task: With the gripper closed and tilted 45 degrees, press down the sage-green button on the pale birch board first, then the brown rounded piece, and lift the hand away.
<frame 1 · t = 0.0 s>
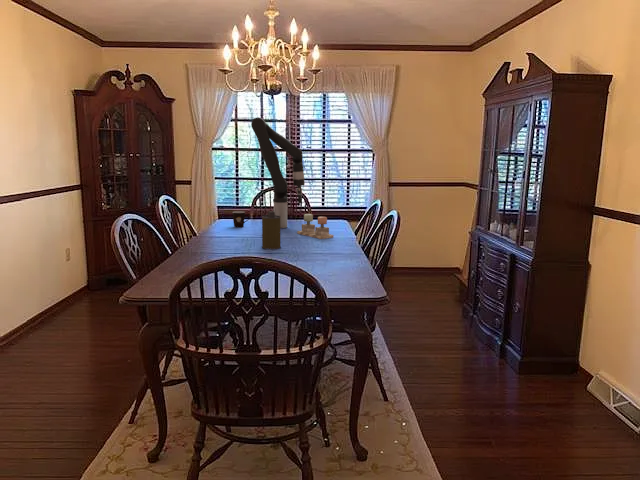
hand: (300, 202, 354), 17 cm above the table, tool pointing down, fingers open, 8 cm apart
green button: (308, 220, 330), point 9 cm above the table, slide at 0.0 cm
button board: (315, 235, 327), on the table
coffee mug: (240, 227, 356), on the table
brown rounded piece: (322, 222, 320), point 9 cm above the table, slide at 0.0 cm
canister: (271, 247, 288), on the table
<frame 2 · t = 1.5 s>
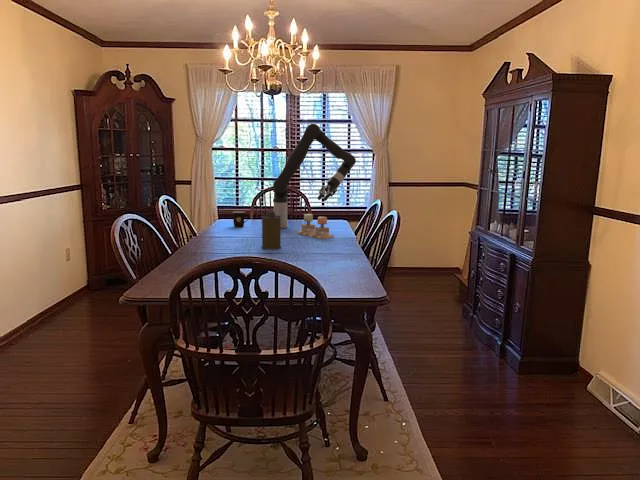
hand: (321, 199, 335), 21 cm above the table, tool tilted 45°, fingers open, 5 cm apart
nothing on the table moved.
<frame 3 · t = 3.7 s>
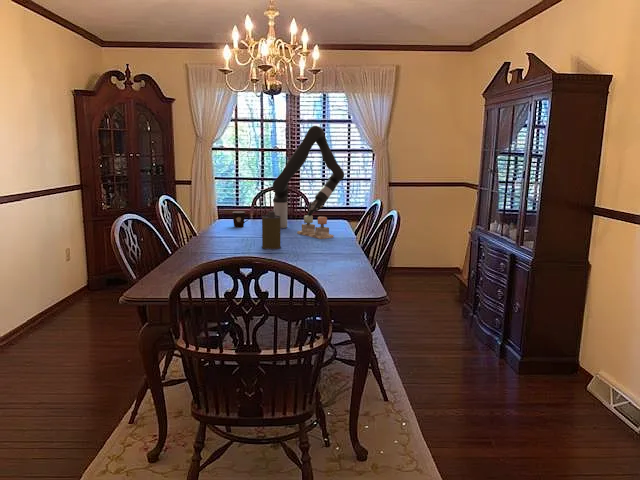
hand: (308, 215, 330), 12 cm above the table, tool tilted 45°, fingers closed
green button: (308, 221, 331), point 8 cm above the table, slide at 0.9 cm, touching gripper
everything else where it was.
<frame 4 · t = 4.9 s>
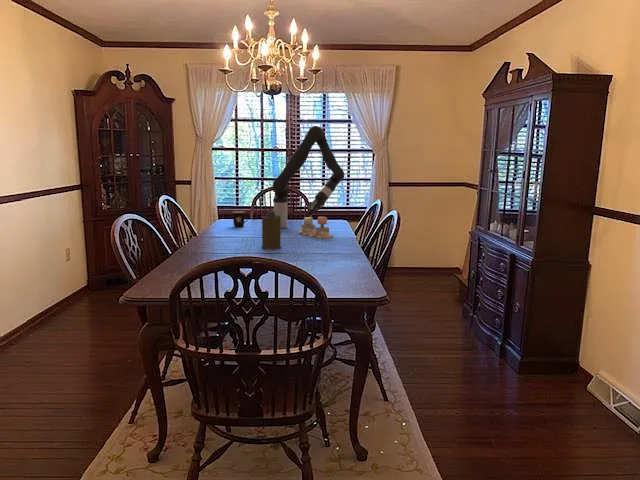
hand: (308, 214, 330), 12 cm above the table, tool tilted 45°, fingers closed
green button: (308, 223, 331), point 7 cm above the table, slide at 2.1 cm
everything else where it was.
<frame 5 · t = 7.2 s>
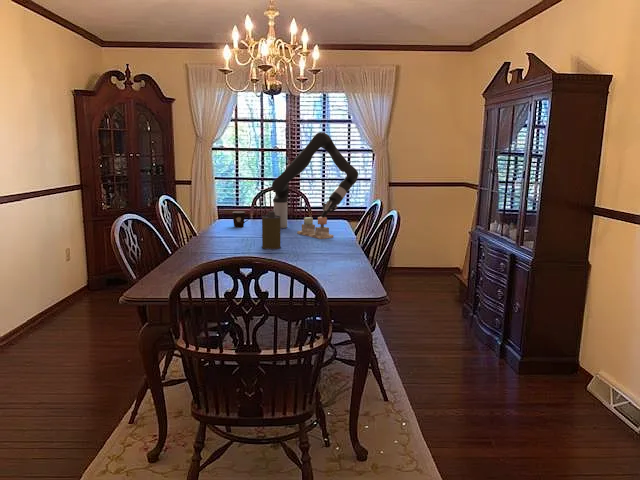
hand: (322, 216, 319), 13 cm above the table, tool tilted 45°, fingers closed
brown rounded piece: (322, 222, 320), point 9 cm above the table, slide at 0.1 cm, touching gripper
everything else where it was.
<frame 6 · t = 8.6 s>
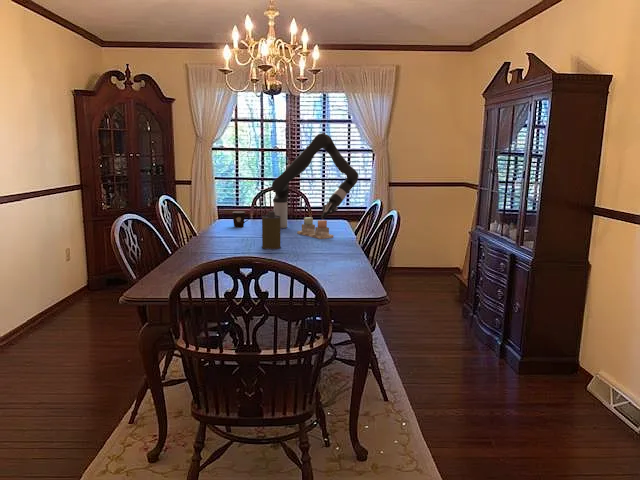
hand: (322, 218, 319), 12 cm above the table, tool tilted 45°, fingers closed
brown rounded piece: (322, 226, 320), point 7 cm above the table, slide at 2.1 cm
everything else where it was.
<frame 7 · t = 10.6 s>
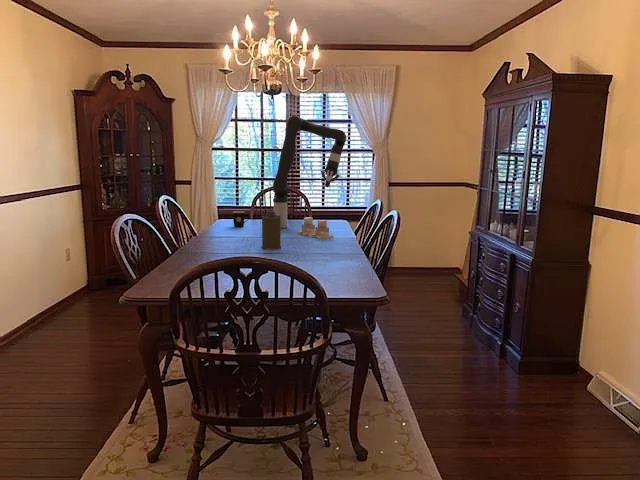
hand: (326, 187, 337), 29 cm above the table, tool tilted 15°, fingers closed
nothing on the table moved.
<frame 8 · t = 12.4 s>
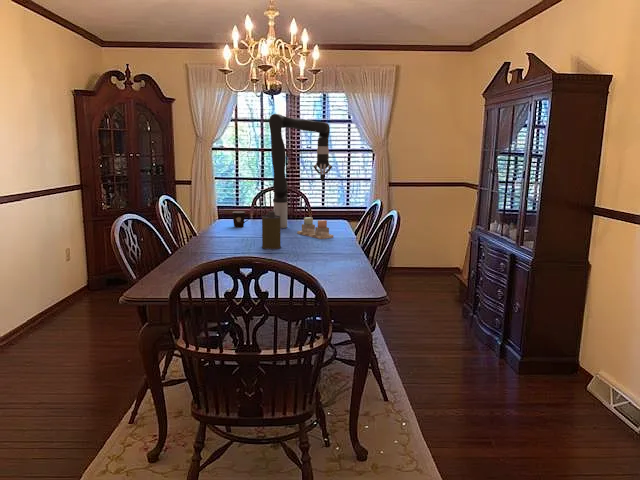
hand: (322, 180, 343), 33 cm above the table, tool pointing down, fingers closed
nothing on the table moved.
at the end: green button slide at 2.1 cm; brown rounded piece slide at 2.1 cm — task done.
